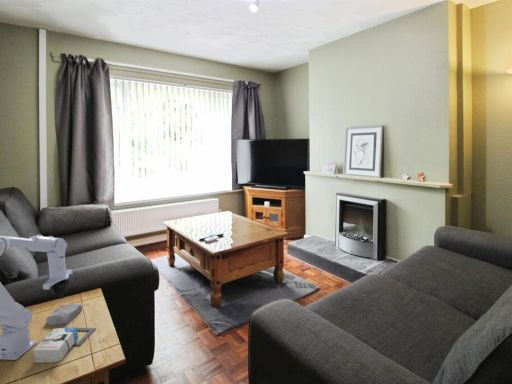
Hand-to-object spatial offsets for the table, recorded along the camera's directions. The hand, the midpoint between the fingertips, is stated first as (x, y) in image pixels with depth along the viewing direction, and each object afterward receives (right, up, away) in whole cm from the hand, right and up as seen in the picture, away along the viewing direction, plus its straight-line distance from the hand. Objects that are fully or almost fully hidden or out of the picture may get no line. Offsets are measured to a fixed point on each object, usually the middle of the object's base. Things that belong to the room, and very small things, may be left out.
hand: (60, 297), depth 124 cm
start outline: (+9, -12, -9) cm, 18 cm away
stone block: (-2, -10, +5) cm, 11 cm away
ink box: (+10, -9, -11) cm, 18 cm away
